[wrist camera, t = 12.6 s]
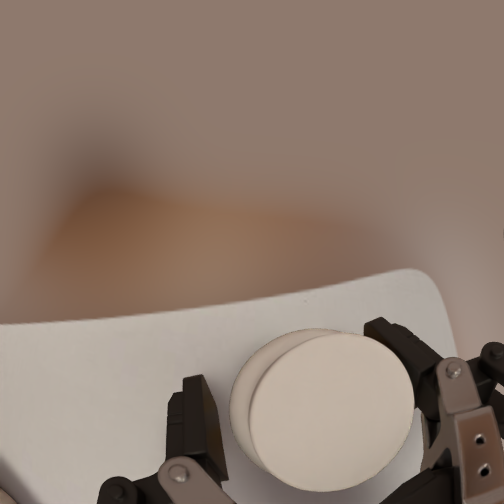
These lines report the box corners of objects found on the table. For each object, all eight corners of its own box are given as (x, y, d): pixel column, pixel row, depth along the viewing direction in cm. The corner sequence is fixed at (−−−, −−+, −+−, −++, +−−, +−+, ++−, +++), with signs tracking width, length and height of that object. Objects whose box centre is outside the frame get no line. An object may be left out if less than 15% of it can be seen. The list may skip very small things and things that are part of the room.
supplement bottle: (342, 428, 12) (447, 463, 4) (248, 449, 12) (240, 534, 3) (324, 343, 15) (409, 281, 6) (232, 361, 14) (198, 325, 6)
